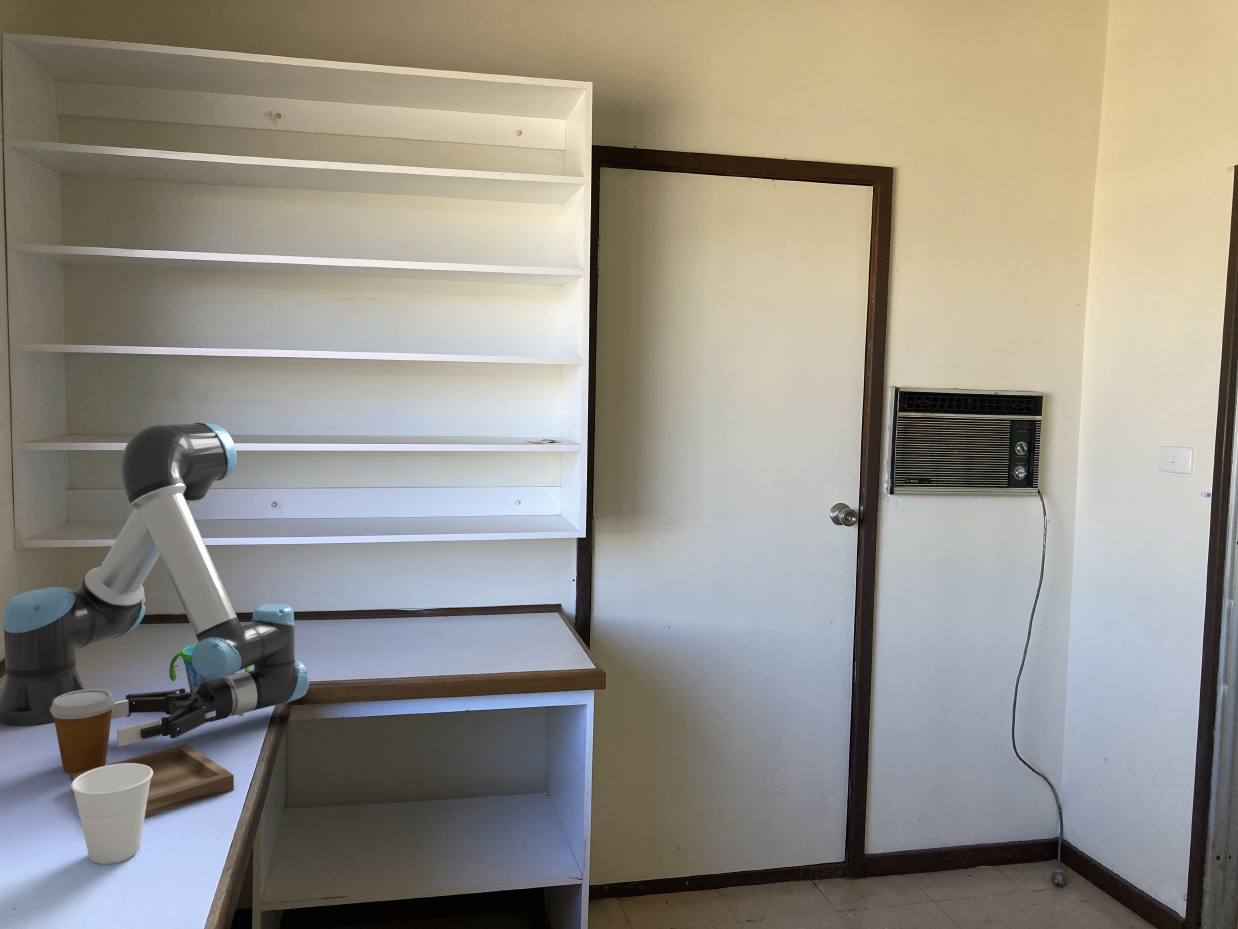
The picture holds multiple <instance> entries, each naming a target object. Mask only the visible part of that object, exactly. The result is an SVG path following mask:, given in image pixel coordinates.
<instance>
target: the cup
mask: <svg viewBox="0 0 1238 929" xmlns="http://www.w3.org/2000/svg"><path fill="white" fill-rule="evenodd" d="M106 765H107V766H103V767H99V768H96V769H93V770H90V771H88V772H85V773H83V774H81V775H80V776H78V777H77V778H75V779H74V781H73V782H72V784H71V783H70V789H72V790H73V791H74V792H73V791H72V790H71V791H72V792H73V793H74V798H75V801H76V802H75V803H76V806H77V807H76V808H77V811H78V814H79V818H80V823H81V826H82V832H83V835H84V840H85V844H86V848H87V853H88V857H89V859H90V860H91V861H92V862H93V863H95V864H99V865H113V864H117V863H121V862H124V861H126V860H128V859H131V858H132V857H133V856H134V855H136V853H137V852H139V850H140V847H141V842H142V835H143V831H144V830H143V828H144V823H145V822H144V821H145V818H144V817H145V810H146V804H147V798H148V792H149V786H150V779H151V777H152V776H153V770H152V769H151V768H150V767H149V766H146V765H143V764H137V763H121V764H113V765H108V764H106Z"/></svg>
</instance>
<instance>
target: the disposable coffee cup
mask: <svg viewBox="0 0 1238 929" xmlns="http://www.w3.org/2000/svg"><path fill="white" fill-rule="evenodd" d="M115 702H116V699H115V698H114V696H113V693H112V691H110V690H108V689H103V688H102V689H101V688H87V689H85V690H79V691H73V692H69V693H66V694H63V695H60V696H58V697H56V698H55V699H54V700H53V703H52V706H51V708H50V712H51V713H52V715H53V717H54V721H53V723H54V727H55V732H56V738H57V744H58V749H59V754H60V760H61V764H62V770H63V772H64V773H67V774H70V775H71V774H74V773H78V772H82V771H85V770H89V769H93V768H97V767H100V766H104V765H107V759H108V758H107V756H108V749H109V740H110V731H111V722H112V719H111V715H112V708H113V706H114V704H115Z"/></svg>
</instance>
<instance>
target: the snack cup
mask: <svg viewBox="0 0 1238 929" xmlns="http://www.w3.org/2000/svg"><path fill="white" fill-rule="evenodd" d="M196 644H197V643H194V644H191V645H188V646H185V647H184V648H183V649H182V650H180V651H179V652H177V653H176V654H175V655H174V657H172V659H171V661H170V662H169V669H168V670H169V672H168V674H169V678H170V681H172V682H174V681H176V679H177V674H176V667H175V662H176V661H177V660H178V658H179V657H181V659H182V660H183V663H184V666H185V673H186V677H187V678H186V679H187V683H188V687H189V692H190V693H196V692H197V690H198V688H199V685H200V684H201V683H202V682H204V681H208V679H205V678H203V677H201V676H200V675H199V674H198V673H197V672H196V671H195V669H194V667H193V665H192V651H193V648H194V647H195V645H196ZM247 671H251V666H249V667H247V668H244V672H247ZM222 678H224V677H222Z"/></svg>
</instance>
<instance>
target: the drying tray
mask: <svg viewBox="0 0 1238 929" xmlns="http://www.w3.org/2000/svg"><path fill="white" fill-rule="evenodd" d="M121 763H137V764H143V765H146V766H149V767H150V768H151V769H152V770H153V776H152V777H151V779H150V786H149V792H148V798H147V804H146V810H145V817H147V818H149V817H148V816H150V817H152V815H153V816H155V815H154V814H156V815H159V814H161V812H162V813H165V812H164V811H166V812H168V811H167V810H169V811H171V810H175V809H179V808H181V807H184V805H185V806H187V804H188V805H191V804H193V802H194V803H197V802H200V801H203V800H202V799H204V800H206V798H207V799H209V798H212V797H215V796H218V795H219V796H220V795H222V794H225V793H229V792H231V791H234V790H235V780H234V779H235V778H234V777H235V775H234V774H233V773H232V772H230V771H228V770H227V769H226V768H224V767H223V766H221V765H219V764H218V763H217V762H215V761H213V760H212V759H210V758H209V757H207V756H205V755H204V754H203V753H202V752H200V751H198V750H196V749H195V748H194V747H192V746H191V745H189V744H188V743H182V744H179V745H175V746H171V747H168V748H164V749H161V750H158V751H157V750H156V751H153V752H150V753H145V754H141V755H138V756H134V757H131V758H127V759H124V760H120V761H116V762H112V763H108V764H105V765H104V766H107V765H113V764H121ZM100 767H103V766H100ZM97 768H99V767H97ZM93 769H96V768H93ZM93 769H89V770H85V771H82V772H78V773H74V774H70V781H71V782H70V785H71V784H72V782H73V781H74V779H75V778H77V777H78V776H80V775H81V774H83V773H85V772H88V771H90V770H93ZM70 789H71V788H70ZM71 791H72V792H73V793H74V791H73V790H72V789H71ZM199 800H200V801H199ZM196 801H197V802H196ZM190 803H191V804H190ZM158 813H159V814H158ZM145 817H144V819H146V818H145Z"/></svg>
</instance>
